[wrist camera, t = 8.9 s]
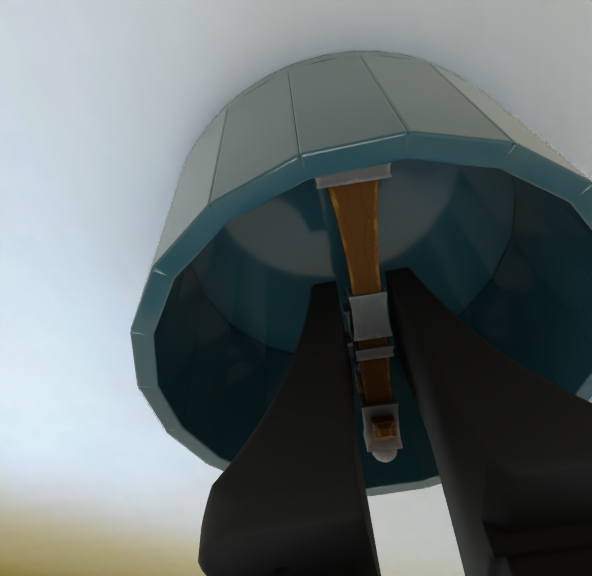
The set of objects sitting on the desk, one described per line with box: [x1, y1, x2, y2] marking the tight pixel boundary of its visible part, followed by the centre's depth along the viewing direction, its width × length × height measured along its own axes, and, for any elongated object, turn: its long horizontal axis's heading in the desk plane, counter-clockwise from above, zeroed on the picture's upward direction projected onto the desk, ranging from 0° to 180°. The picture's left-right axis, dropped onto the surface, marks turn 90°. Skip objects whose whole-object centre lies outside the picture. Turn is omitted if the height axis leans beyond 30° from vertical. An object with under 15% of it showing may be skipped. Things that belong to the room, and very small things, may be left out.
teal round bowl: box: [130, 51, 592, 496], centre depth 14 cm, size 11×11×6 cm
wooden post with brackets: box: [314, 163, 403, 462], centre depth 14 cm, size 2×8×4 cm, turn 9°
